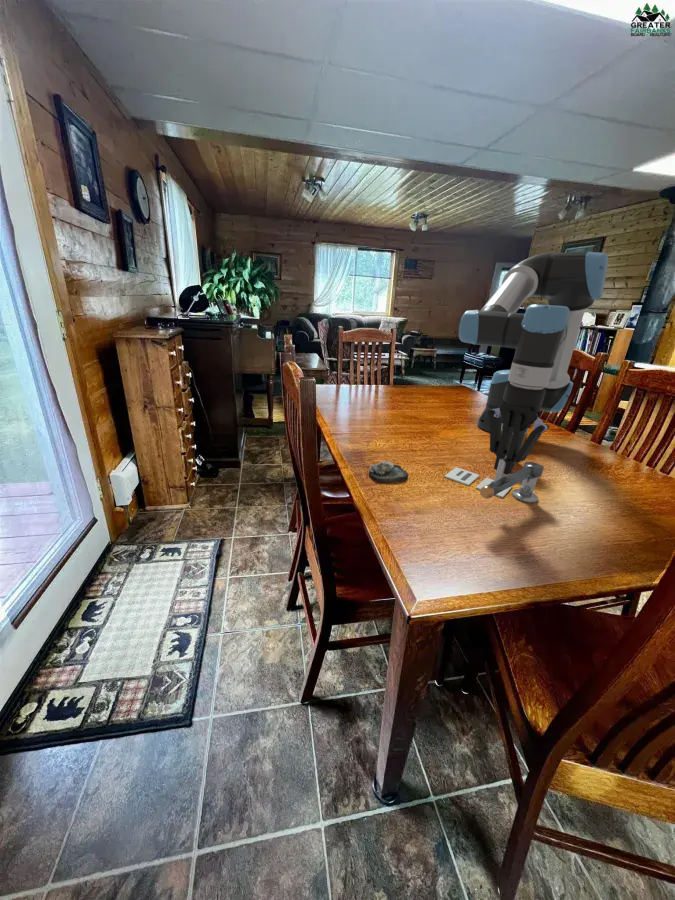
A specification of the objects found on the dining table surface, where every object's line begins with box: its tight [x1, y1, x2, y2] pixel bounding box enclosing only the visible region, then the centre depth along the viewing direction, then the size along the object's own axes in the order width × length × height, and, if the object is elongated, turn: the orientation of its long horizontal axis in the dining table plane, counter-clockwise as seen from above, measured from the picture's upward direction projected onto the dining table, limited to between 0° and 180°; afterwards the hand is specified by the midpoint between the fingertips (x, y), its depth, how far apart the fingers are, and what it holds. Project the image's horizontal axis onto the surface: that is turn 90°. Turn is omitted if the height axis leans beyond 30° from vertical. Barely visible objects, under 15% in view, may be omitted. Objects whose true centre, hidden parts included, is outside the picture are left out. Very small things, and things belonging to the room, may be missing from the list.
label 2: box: [475, 476, 513, 499], centre depth 95 cm, size 8×7×1 cm
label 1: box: [444, 467, 480, 486], centre depth 100 cm, size 8×7×1 cm
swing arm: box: [479, 461, 545, 499], centre depth 82 cm, size 25×4×3 cm, turn 127°
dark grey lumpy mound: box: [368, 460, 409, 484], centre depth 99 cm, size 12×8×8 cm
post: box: [511, 476, 539, 504], centre depth 90 cm, size 6×6×7 cm
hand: (498, 483), depth 83 cm, fingers closed
